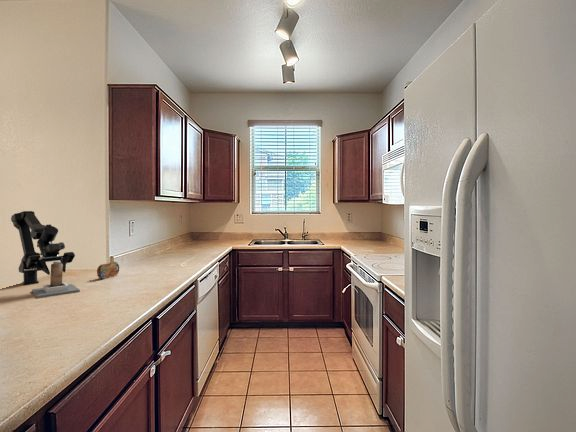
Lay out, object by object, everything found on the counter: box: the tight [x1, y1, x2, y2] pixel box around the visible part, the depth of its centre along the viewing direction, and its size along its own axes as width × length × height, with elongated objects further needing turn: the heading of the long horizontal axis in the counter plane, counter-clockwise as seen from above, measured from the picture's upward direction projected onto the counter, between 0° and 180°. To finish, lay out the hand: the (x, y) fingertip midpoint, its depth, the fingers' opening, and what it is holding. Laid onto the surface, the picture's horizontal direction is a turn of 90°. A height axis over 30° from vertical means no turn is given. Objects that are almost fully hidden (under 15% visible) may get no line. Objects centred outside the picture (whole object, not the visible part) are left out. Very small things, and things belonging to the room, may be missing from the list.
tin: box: [96, 261, 120, 280], centre depth 188 cm, size 15×3×8 cm, turn 168°
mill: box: [50, 261, 64, 287], centre depth 156 cm, size 5×5×13 cm
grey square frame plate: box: [31, 281, 81, 299], centre depth 155 cm, size 16×16×3 cm
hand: (57, 273), depth 154 cm, fingers open, 6 cm apart
